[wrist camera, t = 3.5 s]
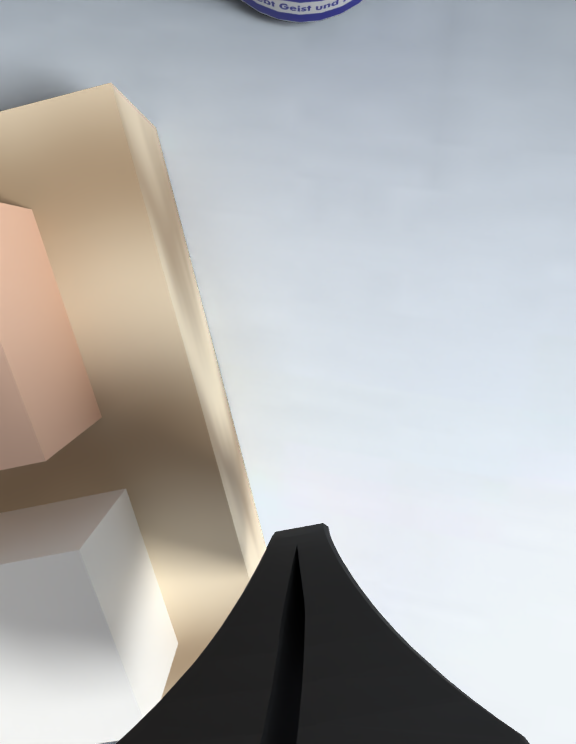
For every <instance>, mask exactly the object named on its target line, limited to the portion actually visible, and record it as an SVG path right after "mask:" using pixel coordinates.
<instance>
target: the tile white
mask: <svg viewBox="0 0 576 744" xmlns="http://www.w3.org/2000/svg"><path fill="white" fill-rule="evenodd" d="M177 646H178V641H177V638H176V635H175V632H174V629H173V626H172V624H171V621H170V618H169V615H168V612H167V609H166V606H165V603H164V600H163V597H162V594H161V591H160V588H159V585H158V582H157V579H156V576H155V573H154V570H153V567H152V564H151V561H150V558H149V555H148V552H147V549H146V546H145V543H144V540H143V537H142V535H141V532H140V529H139V526H138V523H137V520H136V517H135V514H134V511H133V508H132V505H131V502H130V499H129V496H128V493H127V490H126V489H121V490H115V491H110V492H105V493H100V494H95V495H90V496H85V497H80V498H75V499H70V500H64V501H59V502H54V503H49V504H44V505H39V506H34V507H29V508H24V509H19V510H13V511H8V512H3V513H0V744H100V743H106V742H113V741H119V740H120V739H121V738H122V737H123V736H125V735H126V734H127V733H128V732H129V731H130V730H131V729H132V728H133V727H134V726H135V725H136V724H137V723H138V722H139V721H140V720H141V719H142V718H143V717H144V716H145V715H146V714H147V713H148V712H149V711H150V710H151V709H152V708H153V707H154V706H155V705H156V704H157V703H158V702H159V701H160V700H161V698H162V694H163V691H164V688H165V685H166V681H167V678H168V675H169V672H170V668H171V665H172V662H173V659H174V655H175V652H176V649H177Z"/></svg>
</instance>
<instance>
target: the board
mask: <svg viewBox="0 0 576 744" xmlns="http://www.w3.org/2000/svg"><path fill="white" fill-rule="evenodd" d="M0 203H5V204H9V205H14V206H19V207H23V208H28V209H32V211H33V214H34V217H35V220H36V223H37V226H38V229H39V232H40V235H41V238H42V241H43V244H44V247H45V250H46V253H47V256H48V259H49V262H50V265H51V268H52V271H53V273H54V276H55V279H56V282H57V285H58V288H59V291H60V294H61V297H62V300H63V303H64V306H65V309H66V312H67V315H68V318H69V321H70V324H71V327H72V330H73V333H74V336H75V339H76V342H77V345H78V348H79V351H80V354H81V357H82V359H83V362H84V365H85V368H86V371H87V374H88V377H89V380H90V383H91V386H92V389H93V392H94V395H95V398H96V401H97V404H98V407H99V410H100V413H101V416H102V418H100V419H99V420H98V421H96V422H95V423H94V424H93V425H91V426H90V427H89V428H88V429H86V430H85V431H84V432H82V433H81V434H80V435H79V436H77V437H76V438H75V439H73V440H72V441H71V442H70V443H68V444H67V445H66V446H64V447H63V448H62V449H61V450H59V451H58V452H57V453H56V454H54V455H53V456H52V457H50V458H49V459H48V460H47V461H44V462H39V463H34V464H29V465H24V466H19V467H14V468H9V469H4V470H0V513H3V512H8V511H13V510H19V509H24V508H29V507H34V506H39V505H44V504H49V503H54V502H59V501H64V500H70V499H75V498H80V497H85V496H90V495H95V494H100V493H105V492H110V491H115V490H121V489H126V490H127V493H128V496H129V499H130V502H131V505H132V508H133V511H134V514H135V517H136V520H137V523H138V526H139V529H140V532H141V535H142V537H143V540H144V543H145V546H146V549H147V552H148V555H149V558H150V561H151V564H152V567H153V570H154V573H155V576H156V579H157V582H158V585H159V588H160V591H161V594H162V597H163V600H164V603H165V606H166V609H167V612H168V615H169V618H170V621H171V624H172V626H173V629H174V632H175V635H176V638H177V641H178V646H177V649H176V652H175V655H174V659H173V662H172V665H171V668H170V672H169V675H168V678H167V681H166V685H165V688H164V691H163V694H162V698H163V697H164V696H165V695H166V693H167V692H168V691H169V690H170V689H171V688H172V687H173V686H174V685H175V683H176V682H177V681H178V680H179V679H180V678H181V677H182V676H183V674H184V673H185V672H186V671H187V670H188V669H189V668H190V667H191V666H192V664H193V663H194V662H195V661H196V659H197V658H198V657H199V656H200V654H201V653H202V652H203V650H204V649H205V648H206V647H207V645H208V644H209V643H210V641H211V640H212V639H213V637H214V636H215V634H216V633H217V632H218V630H219V629H220V627H221V626H222V624H223V623H224V621H225V620H226V618H227V617H228V615H229V614H230V612H231V610H232V609H233V607H234V606H235V604H236V603H237V601H238V599H239V598H240V596H241V595H242V593H243V591H244V589H245V588H246V586H247V584H248V582H249V581H250V579H251V577H252V575H253V573H254V572H255V570H256V568H257V566H258V564H259V562H260V560H261V558H262V556H263V554H264V552H265V550H266V545H265V541H264V538H263V534H262V530H261V526H260V522H259V519H258V515H257V511H256V507H255V503H254V500H253V496H252V492H251V488H250V484H249V481H248V477H247V473H246V469H245V465H244V462H243V458H242V454H241V450H240V446H239V442H238V439H237V435H236V431H235V427H234V423H233V420H232V416H231V412H230V408H229V404H228V401H227V397H226V393H225V389H224V385H223V382H222V378H221V374H220V370H219V366H218V362H217V359H216V355H215V351H214V347H213V343H212V340H211V336H210V332H209V328H208V324H207V321H206V317H205V313H204V309H203V305H202V302H201V298H200V294H199V290H198V286H197V283H196V279H195V275H194V271H193V267H192V263H191V260H190V256H189V252H188V248H187V244H186V241H185V237H184V233H183V229H182V225H181V222H180V218H179V214H178V210H177V206H176V203H175V199H174V195H173V191H172V187H171V184H170V180H169V176H168V172H167V168H166V164H165V161H164V157H163V153H162V149H161V145H160V142H159V138H158V134H157V130H156V127H155V126H154V125H153V124H152V123H151V122H150V121H149V120H148V119H147V118H146V117H145V116H144V115H143V114H142V113H141V112H140V111H139V110H138V109H137V108H136V107H135V106H134V105H133V104H132V103H131V102H130V101H129V100H128V99H127V98H126V97H125V96H124V95H123V94H122V93H121V92H120V91H119V90H118V89H117V88H116V87H115V86H114V85H113V84H112V83H108V84H104V85H100V86H96V87H92V88H89V89H85V90H81V91H77V92H73V93H69V94H66V95H62V96H58V97H54V98H50V99H46V100H42V101H39V102H35V103H31V104H27V105H23V106H19V107H15V108H12V109H8V110H4V111H0ZM162 698H161V699H162Z"/></svg>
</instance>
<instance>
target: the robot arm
mask: <svg viewBox="0 0 576 744" xmlns="http://www.w3.org/2000/svg"><path fill="white" fill-rule="evenodd" d="M116 744H529V742H528V741H527V740H526V738H525V737H524V736H522V735H521V734H519V733H518V732H517V731H515V730H514V729H512V728H511V727H509V726H508V725H507V724H505V723H504V722H502V721H501V720H499V719H498V718H496V717H495V716H494V715H492V714H491V713H490V712H488V711H487V710H486V709H484V708H483V707H482V706H480V705H479V704H478V703H476V702H475V701H474V700H472V699H471V698H470V697H469V696H467V695H466V694H465V693H464V692H462V691H461V690H460V689H459V688H457V687H456V686H455V685H454V684H452V683H451V682H450V681H449V680H447V679H446V678H445V677H444V676H443V675H442V674H441V673H440V672H439V671H437V670H436V669H435V668H434V667H433V666H432V665H431V664H430V663H429V662H427V661H426V660H425V659H424V658H423V657H422V656H421V655H420V654H419V653H418V652H416V651H415V650H414V649H413V648H412V647H411V646H410V645H409V644H408V643H407V642H406V641H405V640H404V639H403V638H402V637H401V636H400V635H399V634H398V633H397V632H396V631H395V629H394V628H393V627H392V626H391V625H390V624H389V623H388V622H387V621H386V619H385V618H384V617H383V616H382V615H381V614H380V612H379V611H378V610H377V609H376V608H375V606H374V605H373V604H372V603H371V601H370V600H369V599H368V598H367V596H366V595H365V594H364V592H363V591H362V590H361V588H360V587H359V585H358V584H357V583H356V581H355V580H354V578H353V577H352V575H351V574H350V572H349V570H348V569H347V567H346V566H345V564H344V563H343V561H342V559H341V557H340V556H339V554H338V552H337V550H336V548H335V546H334V544H333V541H332V539H331V536H330V533H329V528H328V526H326V525H325V524H323V523H322V524H316V525H311V526H305V527H300V528H294V529H289V530H283V531H278V532H275V533H274V535H273V536H272V538H271V540H270V542H269V544H268V546H267V548H266V550H265V552H264V554H263V556H262V558H261V560H260V562H259V564H258V566H257V568H256V570H255V572H254V573H253V575H252V577H251V579H250V581H249V582H248V584H247V586H246V588H245V589H244V591H243V593H242V595H241V596H240V598H239V599H238V601H237V603H236V604H235V606H234V607H233V609H232V610H231V612H230V614H229V615H228V617H227V618H226V620H225V621H224V623H223V624H222V626H221V627H220V629H219V630H218V632H217V633H216V634H215V636H214V637H213V639H212V640H211V641H210V643H209V644H208V645H207V647H206V648H205V649H204V650H203V652H202V653H201V654H200V656H199V657H198V658H197V659H196V661H195V662H194V663H193V664H192V666H191V667H190V668H189V669H188V670H187V671H186V672H185V673H184V674H183V676H182V677H181V678H180V679H179V680H178V681H177V682H176V683H175V685H174V686H173V687H172V688H171V689H170V690H169V691H168V692H167V693H166V695H165V696H164V697H163V698H162V699H161V700H160V701H159V702H158V703H157V704H156V705H155V706H154V707H153V708H152V709H151V710H150V711H149V712H148V713H147V714H146V715H145V716H144V717H143V718H142V719H141V720H140V721H139V722H138V723H137V724H136V725H135V726H134V727H133V728H132V729H131V730H130V731H129V732H128V733H127V734H126V735H125V736H123V737H122V738H121V739H120V740H119V741H118V742H117V743H116Z"/></svg>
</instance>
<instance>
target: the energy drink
mask: <svg viewBox="0 0 576 744" xmlns="http://www.w3.org/2000/svg"><path fill="white" fill-rule="evenodd" d="M242 1H243V2H245V3H246V4H248V5H249V6H251V7H252V8H254V9H255V10H257V11H258V12H260V13H263V14H265V15H268V16H270V17H273V18H276V19H278V20H284V21H291V22H297V23H303V22H315V21H322V20H325V19H328V18H331V17H334V16H337V15H340V14H342V13H344V12H346V11H347V10H349V9H351V8H353V7H354V6H356V5H358V4H359V3H361V2H362V1H363V0H242Z"/></svg>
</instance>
